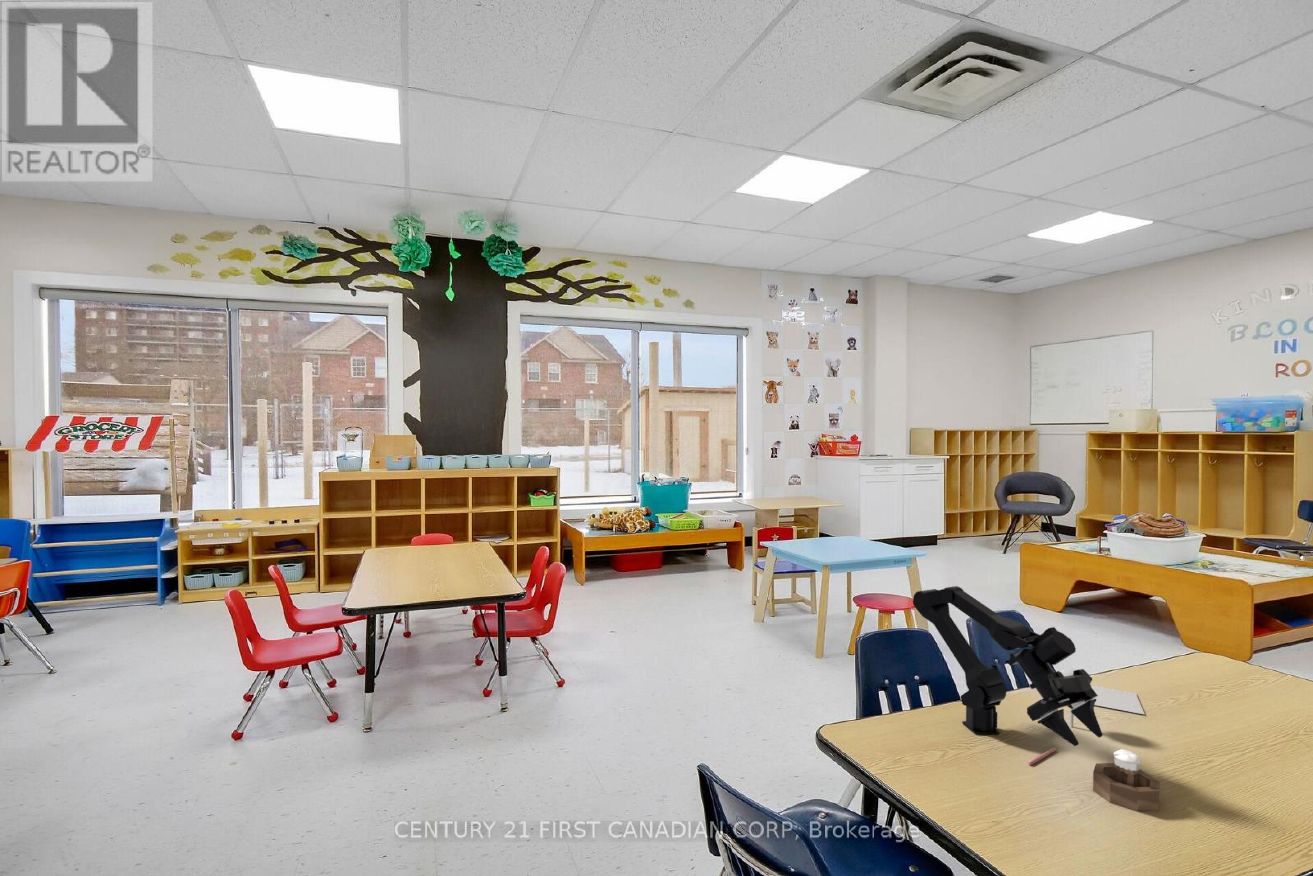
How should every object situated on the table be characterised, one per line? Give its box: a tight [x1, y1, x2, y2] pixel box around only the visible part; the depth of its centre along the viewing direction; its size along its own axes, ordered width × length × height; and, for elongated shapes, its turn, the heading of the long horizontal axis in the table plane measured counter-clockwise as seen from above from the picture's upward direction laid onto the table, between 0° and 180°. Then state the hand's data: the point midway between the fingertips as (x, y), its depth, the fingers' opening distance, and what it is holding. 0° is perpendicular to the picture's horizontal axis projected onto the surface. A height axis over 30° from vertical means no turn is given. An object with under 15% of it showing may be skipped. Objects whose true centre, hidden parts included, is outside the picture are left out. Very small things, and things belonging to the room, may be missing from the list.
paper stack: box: [1091, 685, 1146, 715], centre depth 178 cm, size 23×25×1 cm
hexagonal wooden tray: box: [1092, 762, 1161, 812], centre depth 134 cm, size 11×11×4 cm
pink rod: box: [1027, 747, 1057, 766], centre depth 150 cm, size 13×1×1 cm, turn 125°
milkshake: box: [1109, 745, 1141, 787], centre depth 134 cm, size 4×5×10 cm
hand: (1089, 741), depth 141 cm, fingers open, 9 cm apart
